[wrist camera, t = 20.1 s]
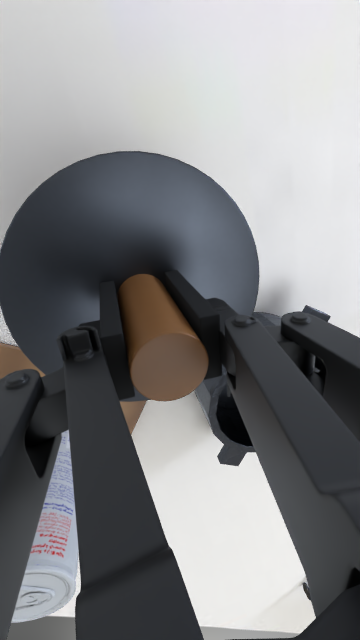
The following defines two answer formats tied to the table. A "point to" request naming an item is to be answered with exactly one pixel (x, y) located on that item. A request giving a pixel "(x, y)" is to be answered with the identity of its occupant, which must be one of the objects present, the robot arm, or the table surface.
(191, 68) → the table surface
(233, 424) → the pot
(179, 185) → the lid
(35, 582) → the beverage can
